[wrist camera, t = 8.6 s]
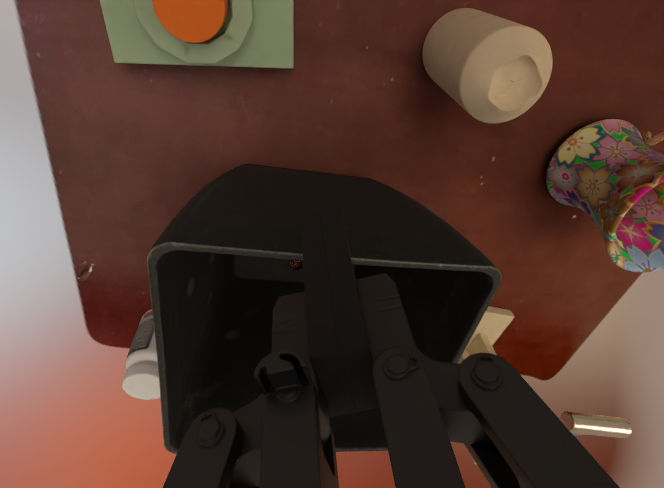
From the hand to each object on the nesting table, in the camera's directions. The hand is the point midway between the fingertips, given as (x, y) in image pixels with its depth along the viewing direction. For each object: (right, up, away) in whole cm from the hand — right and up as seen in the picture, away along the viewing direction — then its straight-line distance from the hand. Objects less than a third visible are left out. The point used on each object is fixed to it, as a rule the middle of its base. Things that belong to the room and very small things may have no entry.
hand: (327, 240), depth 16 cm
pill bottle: (-18, -8, +29) cm, 35 cm away
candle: (+10, +15, +15) cm, 23 cm away
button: (-8, +14, +9) cm, 19 cm away
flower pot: (-3, +1, +24) cm, 24 cm away
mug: (+24, +9, +22) cm, 34 cm away
